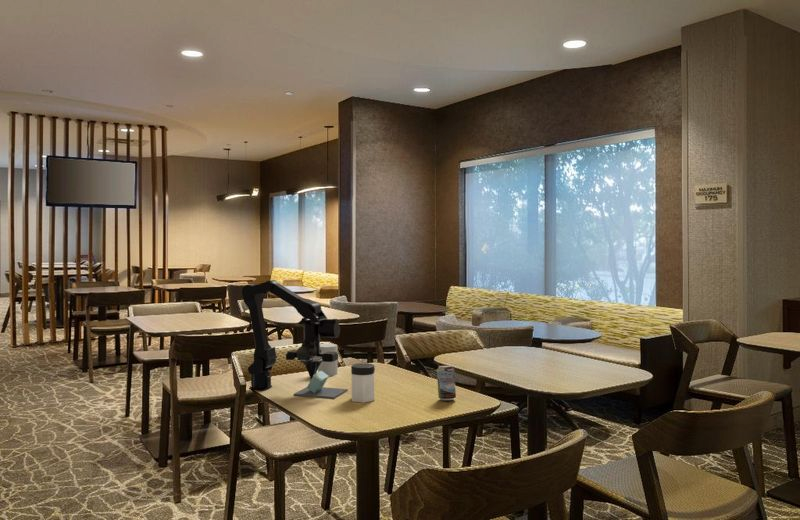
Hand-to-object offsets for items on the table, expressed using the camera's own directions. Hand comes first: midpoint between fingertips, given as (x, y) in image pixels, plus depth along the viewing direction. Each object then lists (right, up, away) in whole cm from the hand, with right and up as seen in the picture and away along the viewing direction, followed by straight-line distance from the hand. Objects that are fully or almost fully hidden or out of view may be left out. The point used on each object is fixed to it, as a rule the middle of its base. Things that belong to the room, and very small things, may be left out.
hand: (312, 379), depth 222 cm
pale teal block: (+1, -3, 0) cm, 3 cm away
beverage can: (+48, -5, -11) cm, 50 cm away
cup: (+2, -4, +31) cm, 31 cm away
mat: (+3, -5, -1) cm, 6 cm away
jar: (+19, -5, -10) cm, 22 cm away
